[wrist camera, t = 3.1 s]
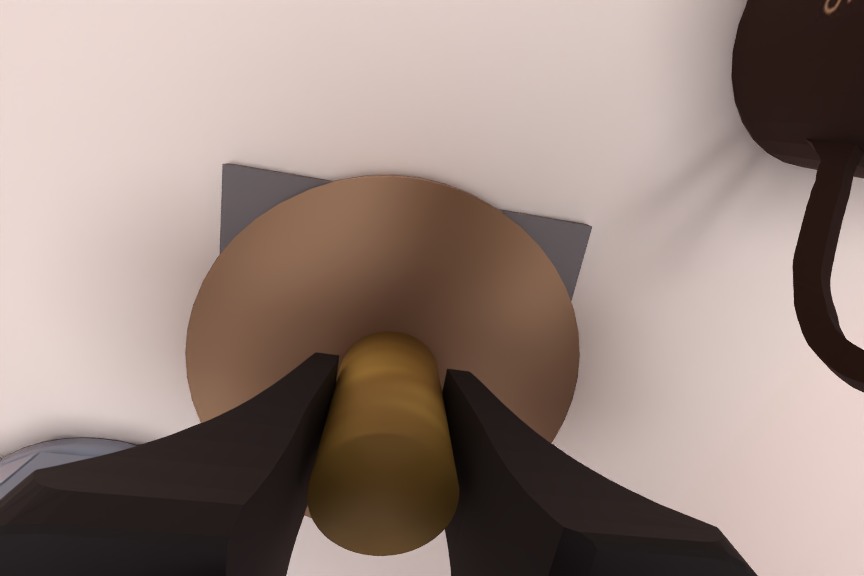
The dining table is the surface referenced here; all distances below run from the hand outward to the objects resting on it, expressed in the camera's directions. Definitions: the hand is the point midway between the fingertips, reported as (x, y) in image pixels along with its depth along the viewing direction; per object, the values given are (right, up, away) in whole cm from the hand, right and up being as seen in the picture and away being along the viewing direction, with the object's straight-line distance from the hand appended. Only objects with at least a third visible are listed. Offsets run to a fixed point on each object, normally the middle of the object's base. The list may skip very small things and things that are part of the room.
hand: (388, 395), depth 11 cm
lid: (0, +1, +2) cm, 2 cm away
